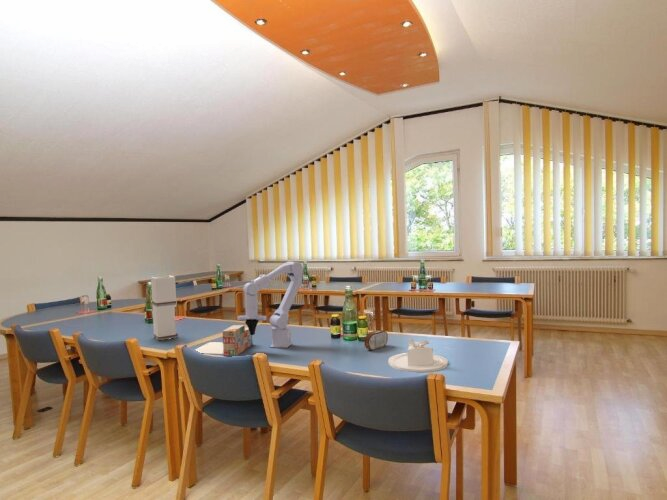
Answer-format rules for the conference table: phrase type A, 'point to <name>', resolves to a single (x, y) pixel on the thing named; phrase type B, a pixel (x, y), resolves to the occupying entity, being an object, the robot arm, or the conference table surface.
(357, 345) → the conference table surface
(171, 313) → the white mini fridge
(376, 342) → the slice of bread
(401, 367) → the dish
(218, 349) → the mat
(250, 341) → the printed cardboard box
